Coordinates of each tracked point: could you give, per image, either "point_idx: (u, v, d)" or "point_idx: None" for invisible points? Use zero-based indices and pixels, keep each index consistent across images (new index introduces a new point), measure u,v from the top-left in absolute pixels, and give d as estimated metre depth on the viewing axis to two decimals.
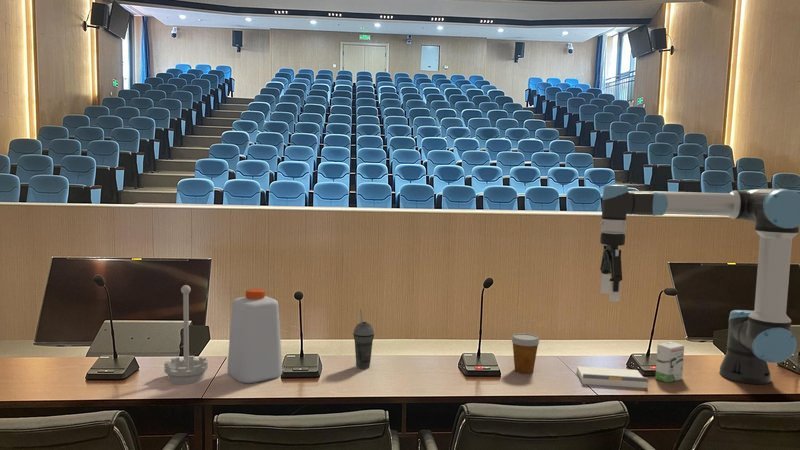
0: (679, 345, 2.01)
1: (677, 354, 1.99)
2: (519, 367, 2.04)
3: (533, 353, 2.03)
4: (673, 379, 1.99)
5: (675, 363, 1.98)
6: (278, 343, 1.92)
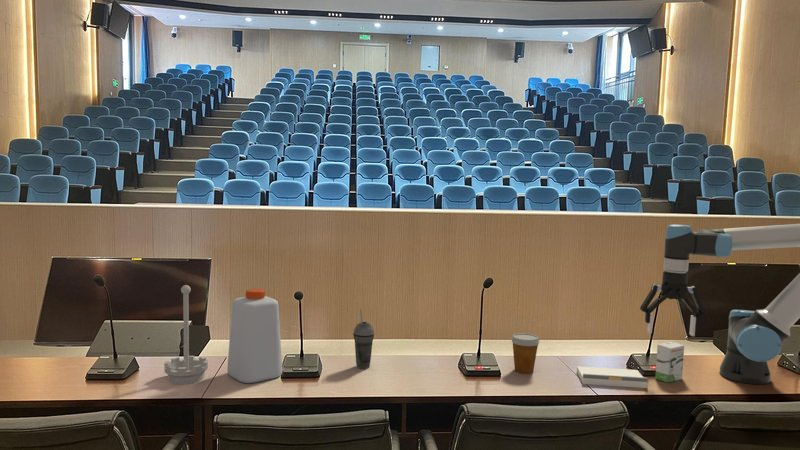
0: (679, 345, 2.01)
1: (677, 354, 1.99)
2: (519, 367, 2.04)
3: (533, 353, 2.03)
4: (673, 379, 1.99)
5: (674, 363, 1.98)
6: (278, 343, 1.92)
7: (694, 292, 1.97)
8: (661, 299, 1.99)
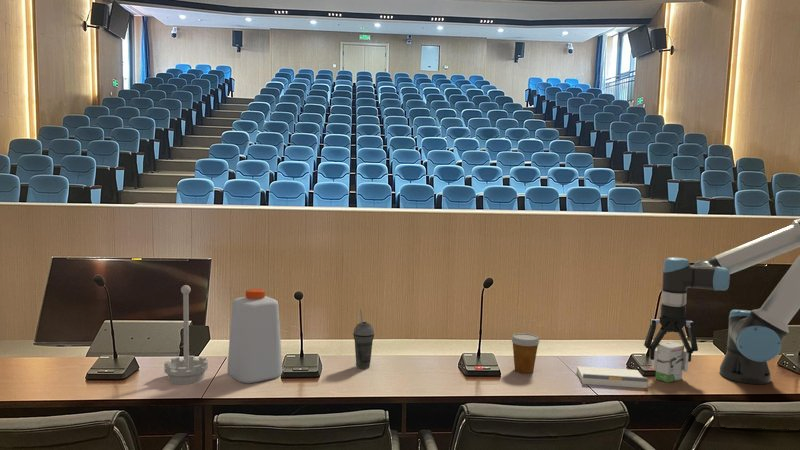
0: (679, 345, 2.01)
1: (677, 354, 1.99)
2: (519, 367, 2.04)
3: (533, 353, 2.03)
4: (673, 379, 1.99)
5: (674, 363, 1.98)
6: (278, 343, 1.92)
7: (691, 327, 1.98)
8: (662, 334, 2.00)
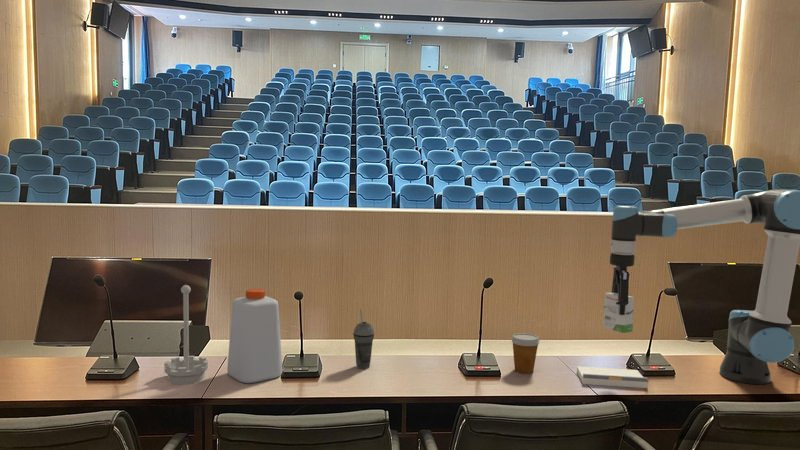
0: (616, 293, 2.00)
1: None
2: (519, 367, 2.04)
3: (533, 353, 2.03)
4: None
5: None
6: (278, 343, 1.92)
7: None
8: None
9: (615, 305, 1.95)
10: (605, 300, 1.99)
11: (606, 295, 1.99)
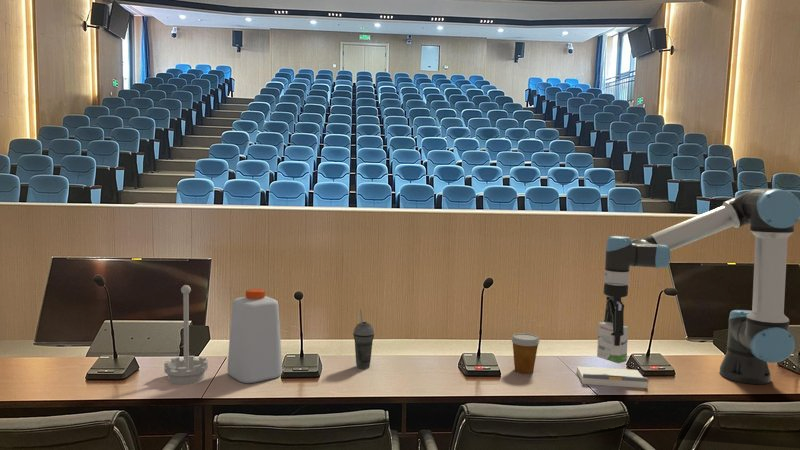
0: None
1: None
2: (519, 367, 2.04)
3: (533, 353, 2.03)
4: None
5: None
6: (278, 343, 1.92)
7: None
8: None
9: (609, 335, 1.96)
10: (599, 330, 1.99)
11: (600, 325, 1.99)
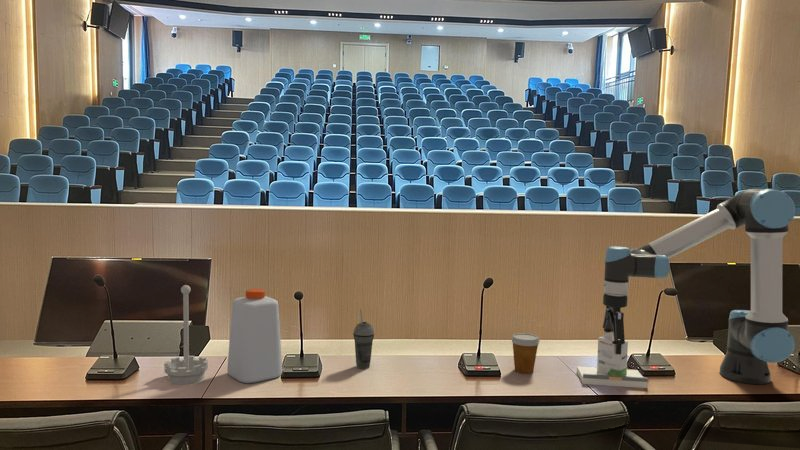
0: (609, 337, 2.01)
1: None
2: (519, 367, 2.04)
3: (533, 353, 2.03)
4: None
5: None
6: (278, 343, 1.92)
7: None
8: None
9: (609, 350, 1.96)
10: (599, 344, 2.00)
11: (600, 339, 2.00)
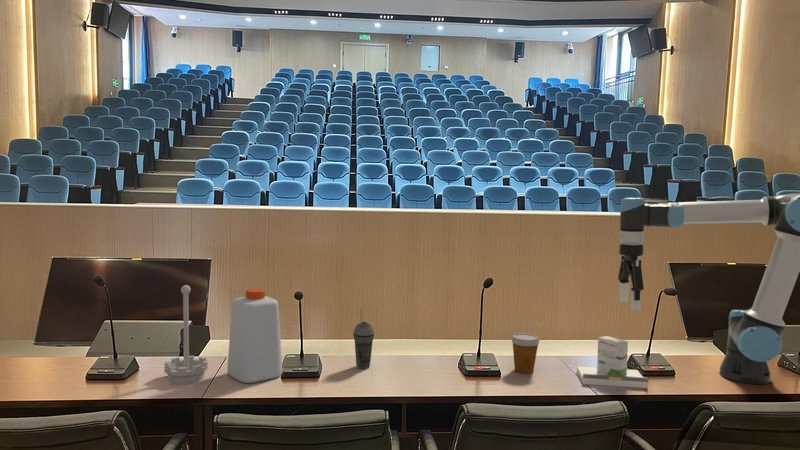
0: (609, 337, 2.01)
1: None
2: (519, 367, 2.04)
3: (533, 353, 2.03)
4: None
5: None
6: (278, 343, 1.92)
7: None
8: None
9: (609, 350, 1.96)
10: (599, 344, 2.00)
11: (600, 339, 2.00)
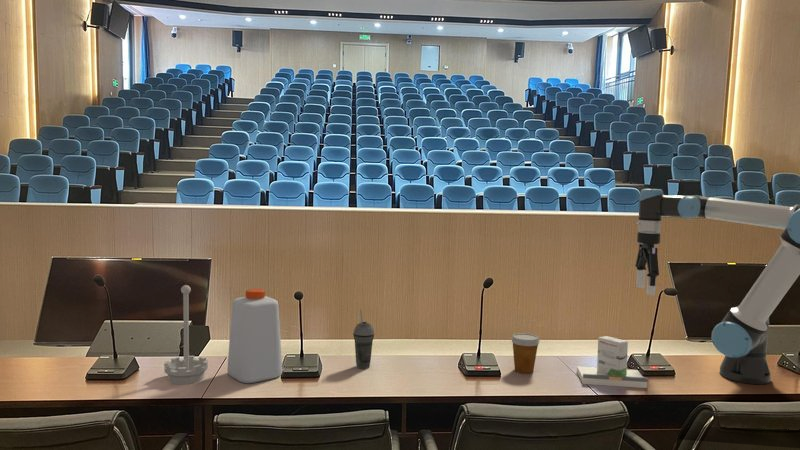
0: (609, 337, 2.01)
1: None
2: (519, 367, 2.04)
3: (533, 353, 2.03)
4: None
5: None
6: (278, 343, 1.92)
7: None
8: None
9: (609, 350, 1.96)
10: (599, 344, 2.00)
11: (600, 339, 2.00)
